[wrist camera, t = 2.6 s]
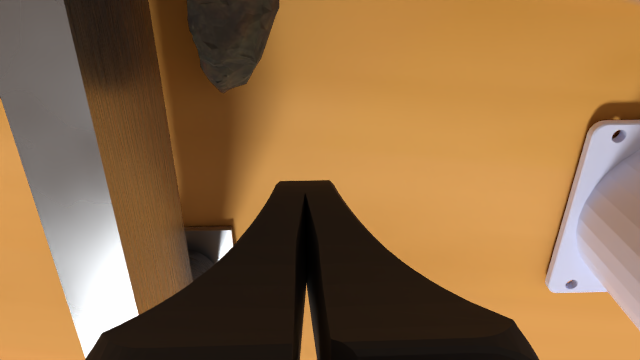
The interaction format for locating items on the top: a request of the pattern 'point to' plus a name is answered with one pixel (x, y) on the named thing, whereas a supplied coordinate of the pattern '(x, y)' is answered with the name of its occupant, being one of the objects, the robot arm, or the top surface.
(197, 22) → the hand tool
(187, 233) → the gate base
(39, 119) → the swing gate
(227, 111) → the top surface
